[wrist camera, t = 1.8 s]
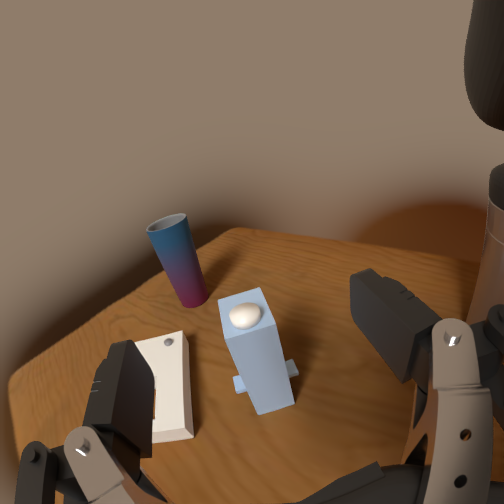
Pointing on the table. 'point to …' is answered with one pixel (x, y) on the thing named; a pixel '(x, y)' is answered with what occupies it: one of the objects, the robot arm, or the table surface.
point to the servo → (257, 351)
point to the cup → (179, 258)
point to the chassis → (170, 386)
